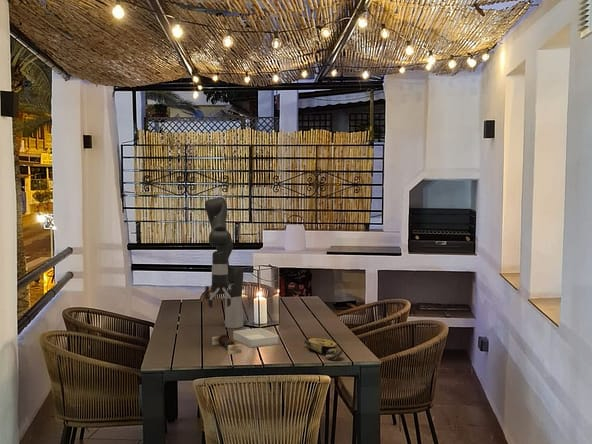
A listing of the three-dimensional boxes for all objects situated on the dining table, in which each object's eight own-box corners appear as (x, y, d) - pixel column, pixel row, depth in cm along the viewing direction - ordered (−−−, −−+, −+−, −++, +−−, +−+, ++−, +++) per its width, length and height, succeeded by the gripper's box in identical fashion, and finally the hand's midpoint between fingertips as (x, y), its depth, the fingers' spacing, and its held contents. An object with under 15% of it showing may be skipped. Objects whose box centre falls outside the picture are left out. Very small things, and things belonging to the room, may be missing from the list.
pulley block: (322, 348, 265) (303, 332, 294) (320, 361, 265) (301, 344, 294) (352, 351, 269) (330, 335, 298) (350, 364, 269) (328, 347, 298)
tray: (260, 335, 315) (260, 327, 314) (279, 344, 297) (279, 336, 297) (232, 338, 307) (232, 331, 307) (250, 348, 289) (250, 339, 289)
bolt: (231, 356, 282) (221, 347, 296) (240, 349, 284) (230, 341, 297) (225, 346, 281) (216, 337, 294) (234, 339, 282) (224, 331, 296)
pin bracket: (223, 342, 299) (223, 335, 299) (241, 352, 281) (241, 345, 281) (212, 344, 296) (212, 336, 296) (229, 354, 278) (229, 346, 278)
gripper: (231, 271, 295) (231, 304, 295) (202, 272, 289) (202, 306, 289) (236, 273, 288) (236, 307, 289) (207, 274, 282) (207, 309, 283)
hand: (219, 307), depth 289 cm, fingers open, 8 cm apart
